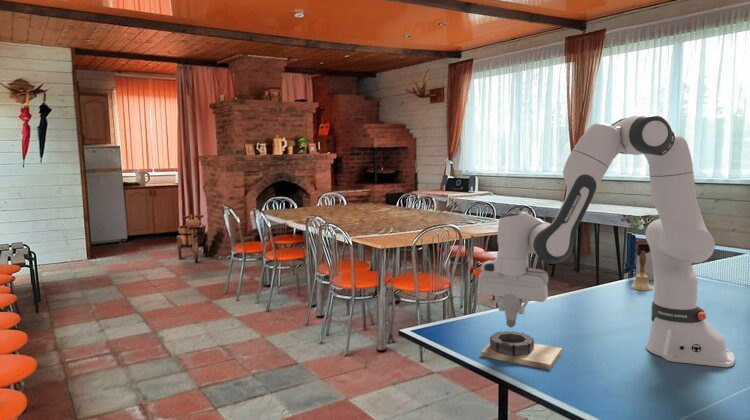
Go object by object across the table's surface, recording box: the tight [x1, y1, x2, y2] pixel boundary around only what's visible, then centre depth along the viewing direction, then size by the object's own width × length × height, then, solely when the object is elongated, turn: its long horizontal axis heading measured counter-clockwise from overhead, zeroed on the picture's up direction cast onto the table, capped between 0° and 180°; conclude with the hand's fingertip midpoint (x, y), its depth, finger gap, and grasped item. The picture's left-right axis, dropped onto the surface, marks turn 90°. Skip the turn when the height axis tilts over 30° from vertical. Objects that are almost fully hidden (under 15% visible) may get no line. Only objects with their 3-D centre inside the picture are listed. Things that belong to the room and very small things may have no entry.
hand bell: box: [630, 251, 654, 292], centre depth 229 cm, size 8×8×16 cm
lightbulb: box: [501, 294, 523, 328], centre depth 159 cm, size 6×6×11 cm
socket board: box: [480, 330, 563, 371], centre depth 159 cm, size 20×14×4 cm
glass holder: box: [634, 243, 654, 281], centre depth 249 cm, size 9×14×15 cm, turn 171°
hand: (511, 311), depth 160 cm, fingers closed on lightbulb, 4 cm apart
